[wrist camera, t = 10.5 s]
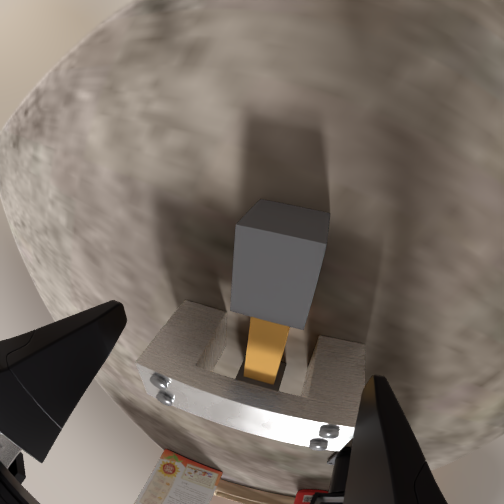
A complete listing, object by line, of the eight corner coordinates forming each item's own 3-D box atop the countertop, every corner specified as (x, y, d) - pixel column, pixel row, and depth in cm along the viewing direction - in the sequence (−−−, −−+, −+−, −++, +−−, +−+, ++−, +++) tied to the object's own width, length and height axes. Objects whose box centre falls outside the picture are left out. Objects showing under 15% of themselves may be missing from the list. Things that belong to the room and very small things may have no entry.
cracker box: (166, 453, 50) (130, 515, 32) (165, 447, 47) (125, 515, 29) (220, 475, 48) (189, 541, 30) (224, 472, 44) (189, 544, 27)
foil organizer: (315, 507, 50) (312, 516, 47) (216, 485, 56) (212, 494, 54) (329, 501, 44) (326, 512, 41) (215, 477, 50) (210, 487, 47)
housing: (347, 376, 20) (338, 455, 14) (188, 334, 23) (145, 397, 17) (364, 344, 18) (361, 432, 12) (185, 299, 21) (132, 365, 15)
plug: (285, 377, 22) (274, 415, 19) (241, 365, 23) (225, 401, 19) (330, 213, 15) (326, 244, 11) (260, 198, 15) (235, 224, 12)
